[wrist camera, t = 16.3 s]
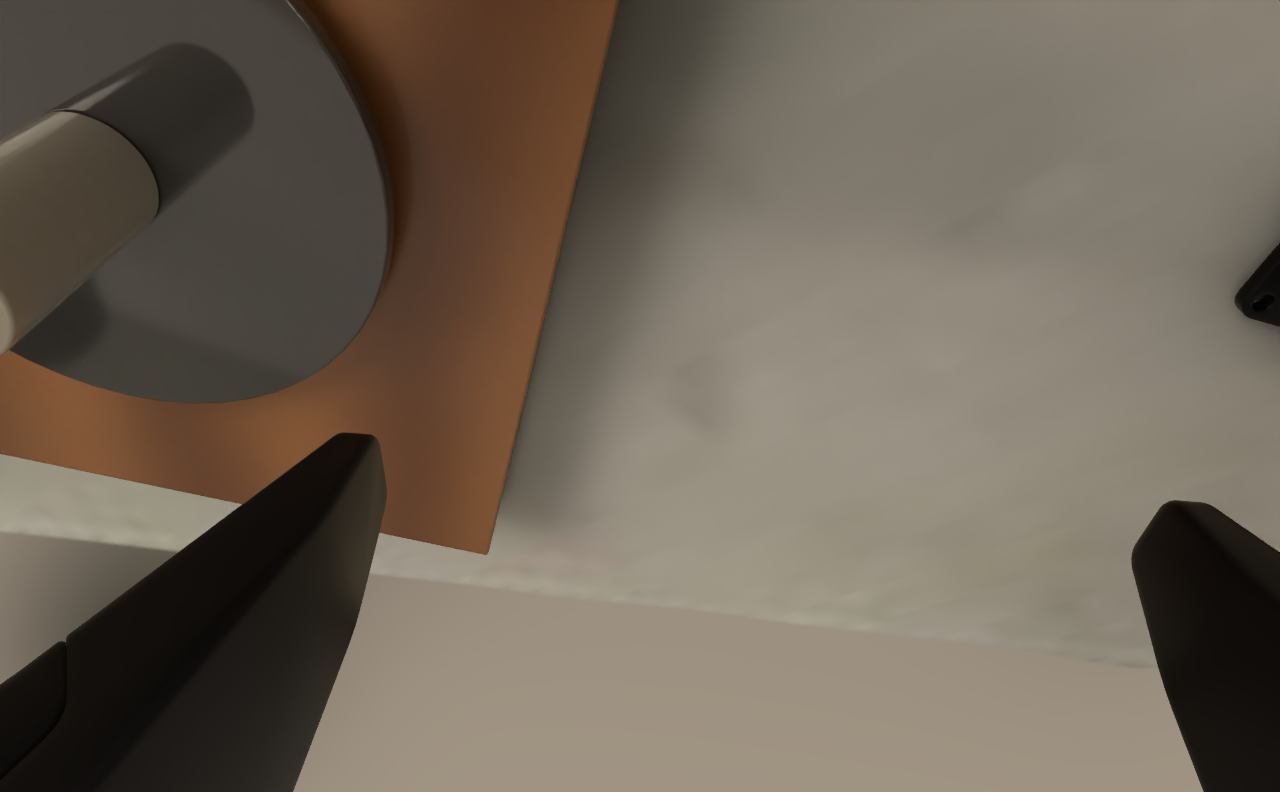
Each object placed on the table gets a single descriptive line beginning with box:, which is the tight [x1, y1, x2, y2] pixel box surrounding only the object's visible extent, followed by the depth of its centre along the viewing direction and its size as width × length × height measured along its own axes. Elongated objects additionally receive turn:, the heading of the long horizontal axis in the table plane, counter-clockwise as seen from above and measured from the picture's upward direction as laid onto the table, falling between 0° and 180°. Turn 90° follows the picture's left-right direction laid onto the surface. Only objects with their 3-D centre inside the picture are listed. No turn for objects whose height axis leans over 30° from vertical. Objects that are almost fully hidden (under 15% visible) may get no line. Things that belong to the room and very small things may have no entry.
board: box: [0, 0, 620, 555], centre depth 20 cm, size 18×20×2 cm
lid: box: [0, 0, 394, 404], centre depth 16 cm, size 13×13×6 cm
